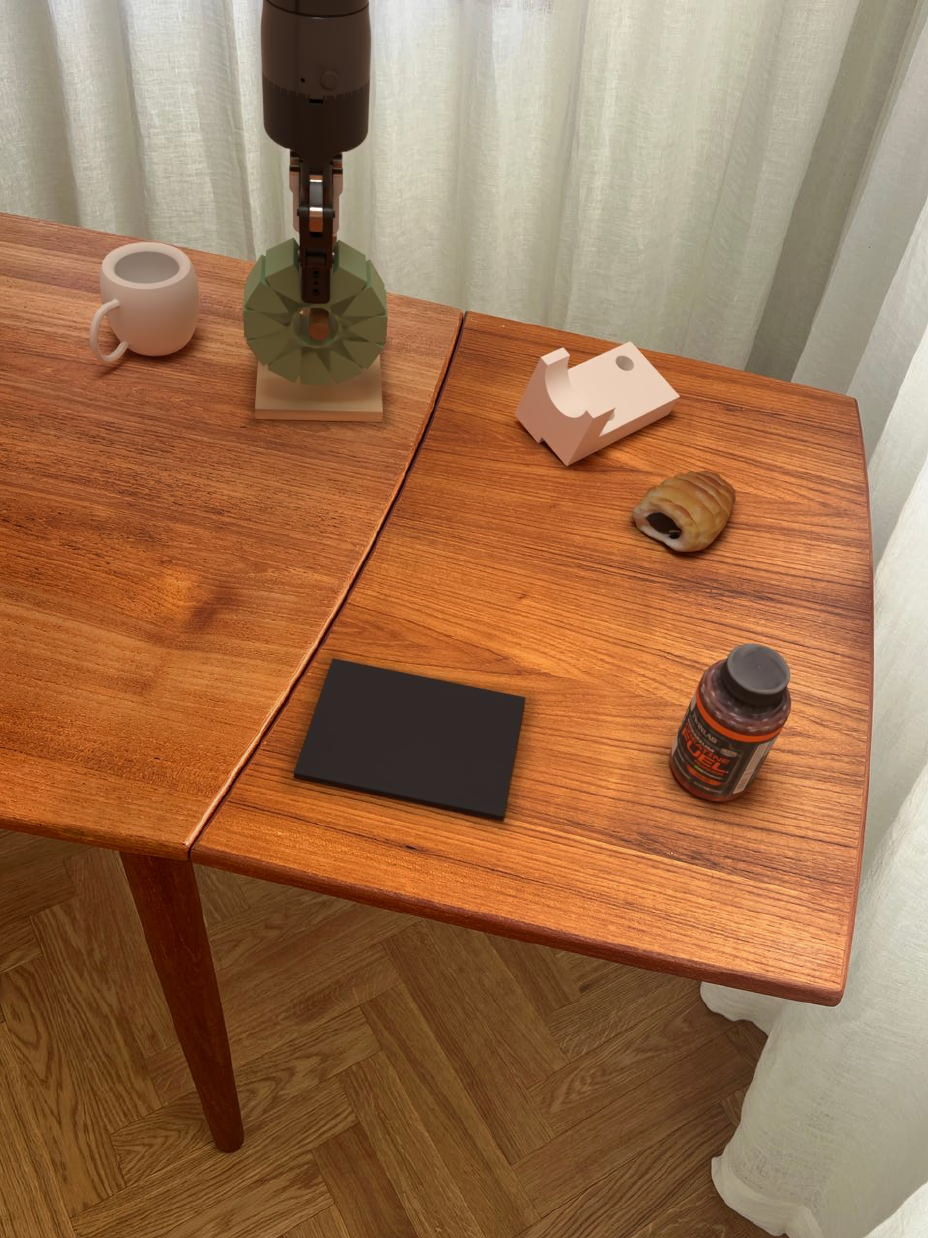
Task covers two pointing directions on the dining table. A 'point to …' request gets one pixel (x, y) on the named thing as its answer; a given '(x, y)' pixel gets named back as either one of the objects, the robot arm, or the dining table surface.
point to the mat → (413, 739)
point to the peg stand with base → (320, 389)
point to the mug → (146, 300)
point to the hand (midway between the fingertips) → (316, 283)
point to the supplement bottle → (732, 723)
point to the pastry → (686, 510)
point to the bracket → (592, 400)
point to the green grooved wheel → (285, 330)
